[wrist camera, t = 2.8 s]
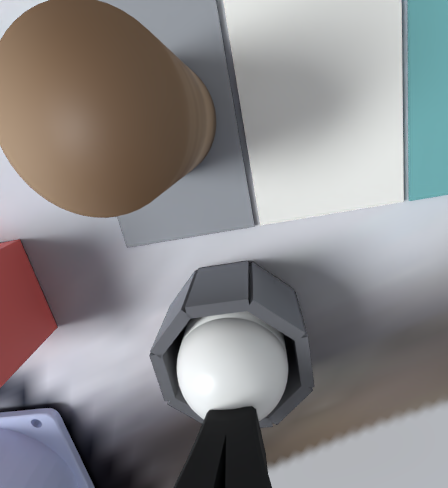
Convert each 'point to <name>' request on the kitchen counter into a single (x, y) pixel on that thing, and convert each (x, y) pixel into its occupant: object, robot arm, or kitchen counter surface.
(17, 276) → the red die
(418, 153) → the game track
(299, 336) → the dome housing
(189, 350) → the dome cap
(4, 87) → the walnut pawn
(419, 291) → the kitchen counter surface
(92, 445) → the kitchen counter surface
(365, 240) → the kitchen counter surface
